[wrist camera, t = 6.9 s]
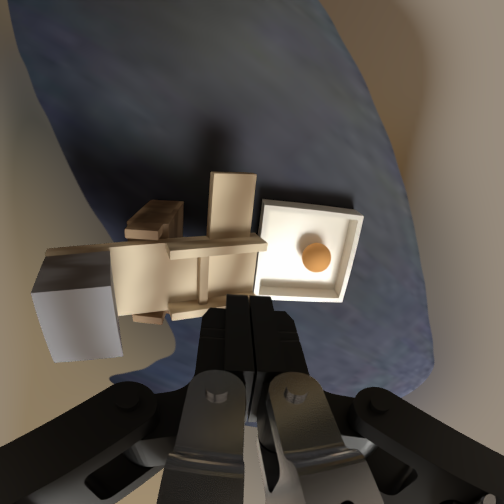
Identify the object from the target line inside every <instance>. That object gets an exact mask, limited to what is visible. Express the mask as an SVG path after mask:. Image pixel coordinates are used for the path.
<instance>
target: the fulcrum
mask: <svg viewBox="0 0 504 504" xmlns="http://www.w3.org/2000/svg"><path fill="white" fill-rule="evenodd" d="M183 208H184V201H166V200H150V201H149V202H148V203H147V204H145V205H144V206H143V207H142V208H141V209H140V210H139V211H138V212H137V213H136V214H135V215H133V216H132V217H131V218H130V219H129V220H128V221H127V227H126V228H125V238H128V241H141V240H159V239H167V238H181V237H183ZM166 313H168V314H169V311H168V310H164V311H156V312H148V313H140V314H133V315H132V316H133V321H134V322H141V323H150V324H159V325H162V323H163V320H164V317H165V314H166Z"/></svg>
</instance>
